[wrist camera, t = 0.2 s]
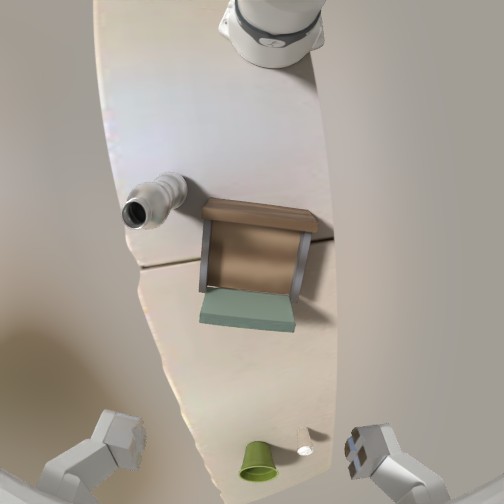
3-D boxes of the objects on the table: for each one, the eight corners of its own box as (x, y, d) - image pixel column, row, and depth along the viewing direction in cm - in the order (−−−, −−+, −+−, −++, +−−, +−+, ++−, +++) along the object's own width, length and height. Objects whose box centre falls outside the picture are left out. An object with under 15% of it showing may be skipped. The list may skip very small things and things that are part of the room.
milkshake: (314, 425, 77) (319, 451, 68) (304, 434, 79) (309, 460, 69) (301, 422, 76) (305, 449, 67) (292, 432, 78) (295, 458, 69)
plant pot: (284, 444, 81) (287, 473, 70) (259, 458, 84) (259, 485, 73) (256, 432, 78) (256, 463, 67) (231, 447, 81) (230, 475, 70)
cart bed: (210, 197, 54) (202, 208, 45) (308, 210, 55) (318, 223, 46) (203, 277, 60) (196, 300, 51) (293, 287, 60) (299, 311, 52)
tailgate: (207, 286, 57) (199, 315, 47) (288, 295, 58) (295, 325, 48) (206, 293, 57) (199, 322, 48) (287, 302, 58) (293, 332, 49)
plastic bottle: (190, 170, 52) (158, 187, 33) (189, 207, 54) (159, 242, 36) (156, 170, 52) (109, 187, 33) (156, 206, 54) (112, 240, 36)
